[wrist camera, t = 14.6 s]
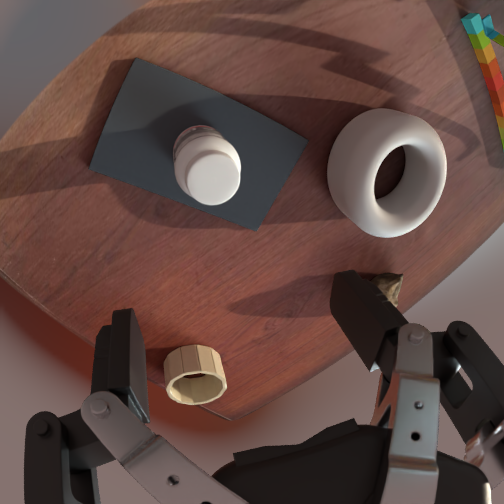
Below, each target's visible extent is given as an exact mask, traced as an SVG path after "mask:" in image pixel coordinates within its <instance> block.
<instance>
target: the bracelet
mask: <svg viewBox="0 0 504 504" xmlns="http://www.w3.org/2000/svg"><path fill="white" fill-rule="evenodd" d="M197 373H204V374H206V375H204V376H202V377H197V378H190V379H189V378H183V376H185V375H190V374H197ZM164 374H165V385H166V391H167V393H168V396H169V397H170V398H171V399H173V400H175V401H176V402H178V403H183V404H190V405H193V404H194V405H197V404H203V403H208V402H211V401H213V400H215V399H217V398H219V397H220V396H221V395H222V394H223V393H224V391H225V390H226V389H227V385H226V379H225V375H224V371H223V367H222V363H221V359H220V355H219V354H218V353H217V352H216V351H214V350H213V349H212V348H210V347H207V346H202V345H195V344H194V345H188V346H182V347H181V348H180V347H179V348H177V349H176V350H174V351H172V352H171V353H169V354H168V355H167V357H166V359H165V361H164Z"/></svg>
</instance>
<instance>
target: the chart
mask: <svg viewBox="0 0 504 504" xmlns="http://www.w3.org/2000/svg"><path fill="white" fill-rule="evenodd" d="M461 20H462V23H463V25H464V27H465V29H466V31H467V34H468V36H469V39H470V41H471V43H472V46H473V49H474V51H475V54H476V56H477V59H478V61H479V64H480V67H481V70H482V73H483V75H484V78H485V81H486V84H487V88H488V91H489V94H490V97H491V101H492V104H493V108H494V112H495V115H496V119H497V123H498V127H499V132H500V136H501V140H502V145H503V150H504V81H503V78H502V75H501V71H500V68H499V65H498V62H497V59H496V56H495V53H494V50H493V48H492V45H491V42H490V39H492V40H493V41H495V42H496V43H498V44H500V45H501V46H503V47H504V36H503V35H501V34H500V33H498V32H497V31H495V30H494V27H493V23H492V20H491V16H490V15H487V16H486V17H484V18H483V19H481V17H480V15H479V13H469V14H468V15H466V16H465V17H463V18H462V19H461ZM489 38H490V39H489Z"/></svg>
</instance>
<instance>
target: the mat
mask: <svg viewBox="0 0 504 504" xmlns="http://www.w3.org/2000/svg"><path fill="white" fill-rule="evenodd" d="M198 125H204V126H209V127H212V128H214V129H215V130H217V131H218V132H219V133H220V134H221V135H222V136H223V137H224V138H225V139H226V140H227V141H228V142H229V143H230V144H231V145H232V146H233V147H234V149H235V150H236V152H237V154H238V156H239V159H240V164H241V171H240V184H239V187H238V189H237V191H236V193H235V194H234V195H233V196H232V197H231V198H230V199H229V200H227V201H226V202H224V203H221V204H218V205H206V204H202V203H200V202H198V201H197V200H195V199H194V198H193V197H191V196H189V195H188V194H186V193H185V192H184V191H183V190H182V189H181V187H180V186H179V184H178V182H177V180H176V176H175V169H174V159H173V148H174V144H175V142H176V140H177V138H178V136H179V135H180V134H181V133H182V132H183V131H185V130H186V129H188V128H190V127H193V126H198ZM308 142H309V140H307V139H306V138H304V137H302V136H300V135H299V134H297V133H295V132H293V131H292V130H290V129H288V128H286V127H285V126H283V125H281V124H279V123H277V122H276V121H274V120H272V119H270V118H268V117H266V116H264V115H263V114H261V113H259V112H257V111H255V110H253V109H251V108H249V107H247V106H245V105H243V104H241V103H239V102H237V101H235V100H233V99H231V98H229V97H227V96H225V95H223V94H221V93H219V92H217V91H214V90H212V89H210V88H208V87H206V86H204V85H201V84H199V83H197V82H195V81H193V80H190V79H188V78H186V77H183V76H181V75H179V74H176V73H174V72H171V71H169V70H167V69H164V68H162V67H159V66H157V65H154V64H152V63H149V62H146V61H144V60H141V59H138V58H135V60H134V62H133V64H132V66H131V68H130V70H129V72H128V74H127V76H126V78H125V80H124V82H123V84H122V86H121V88H120V91H119V93H118V95H117V97H116V99H115V102H114V104H113V106H112V109H111V111H110V113H109V116H108V118H107V120H106V123H105V125H104V128H103V130H102V133H101V136H100V138H99V141H98V143H97V146H96V149H95V152H94V154H93V157H92V160H91V163H90V166H89V170H92V171H95V172H98V173H101V174H104V175H106V176H109V177H112V178H115V179H117V180H120V181H123V182H126V183H128V184H131V185H134V186H137V187H139V188H142V189H145V190H148V191H150V192H153V193H156V194H158V195H161V196H164V197H167V198H169V199H172V200H175V201H177V202H180V203H183V204H185V205H188V206H191V207H193V208H196V209H199V210H201V211H204V212H207V213H209V214H212V215H215V216H217V217H220V218H222V219H225V220H228V221H230V222H233V223H235V224H238V225H241V226H243V227H246V228H248V229H251V230H254V231H257V230H258V228H259V226H260V225H261V223H262V221H263V219H264V218H265V216H266V214H267V213H268V211H269V209H270V207H271V206H272V204H273V202H274V200H275V199H276V197H277V195H278V194H279V192H280V190H281V188H282V187H283V185H284V183H285V181H286V180H287V178H288V176H289V175H290V173H291V171H292V169H293V168H294V166H295V164H296V163H297V161H298V159H299V157H300V156H301V154H302V152H303V151H304V149H305V147H306V145H307V144H308Z"/></svg>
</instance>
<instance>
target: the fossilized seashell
mask: <svg viewBox="0 0 504 504" xmlns="http://www.w3.org/2000/svg"><path fill="white" fill-rule="evenodd" d="M402 279H403V274H394V273H383V274H380V275H378V276H376V277H375V278H373V279H372V280H371V281H370V282H372V283H373V284H375V285H376V286H377V287H378V288H379V289H380V290H381V291H382V292H383V295H385V296H386V297H387V298H388V299H389V301H391V303H392V304H393V305H394V306H395V307H396V306H397V305H398V299H397V296H398V293H399V291H400V288H401V283H402Z"/></svg>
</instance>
